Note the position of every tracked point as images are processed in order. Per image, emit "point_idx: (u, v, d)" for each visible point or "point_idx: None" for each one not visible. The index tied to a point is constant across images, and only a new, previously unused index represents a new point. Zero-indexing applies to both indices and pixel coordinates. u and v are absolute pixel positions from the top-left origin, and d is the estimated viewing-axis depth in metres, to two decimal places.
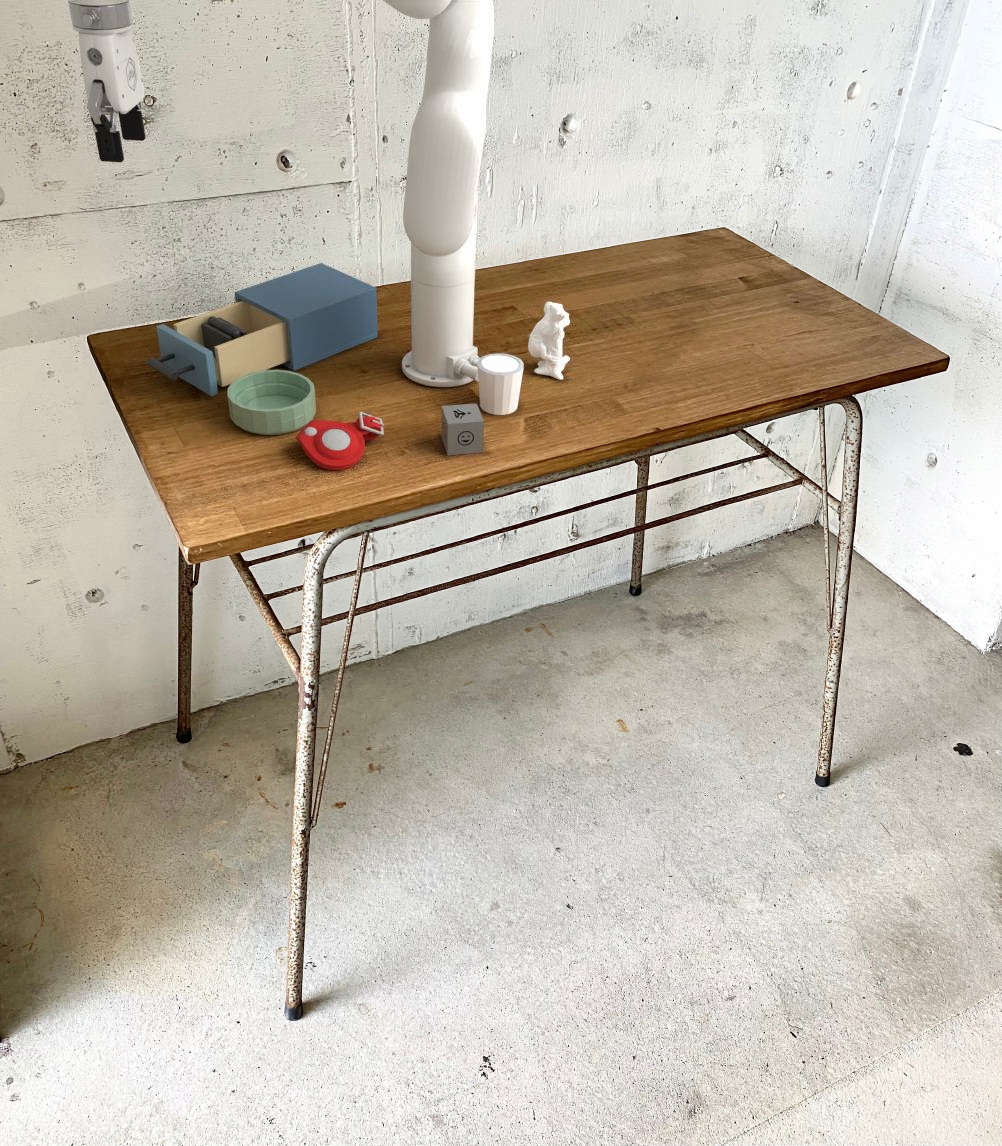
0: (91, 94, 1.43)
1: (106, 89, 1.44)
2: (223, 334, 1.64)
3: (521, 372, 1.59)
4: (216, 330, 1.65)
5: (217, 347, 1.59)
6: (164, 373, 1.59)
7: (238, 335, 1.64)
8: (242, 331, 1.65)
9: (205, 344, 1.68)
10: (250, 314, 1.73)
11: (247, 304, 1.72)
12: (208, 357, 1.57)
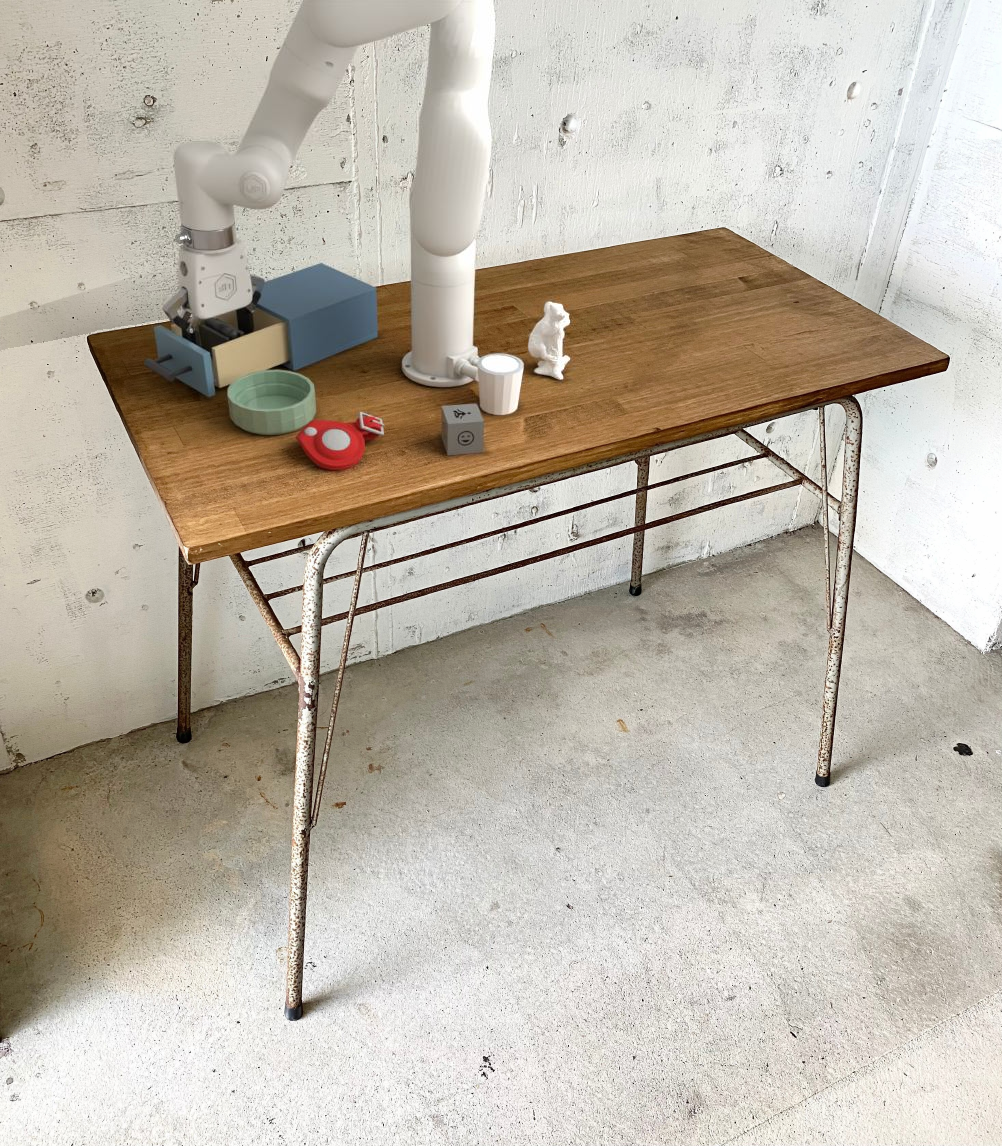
0: (172, 298, 1.58)
1: (188, 297, 1.58)
2: (220, 335, 1.64)
3: (521, 372, 1.59)
4: (213, 331, 1.64)
5: (214, 348, 1.59)
6: (161, 374, 1.58)
7: (235, 336, 1.64)
8: (239, 332, 1.65)
9: (202, 345, 1.68)
10: None
11: None
12: (205, 358, 1.57)
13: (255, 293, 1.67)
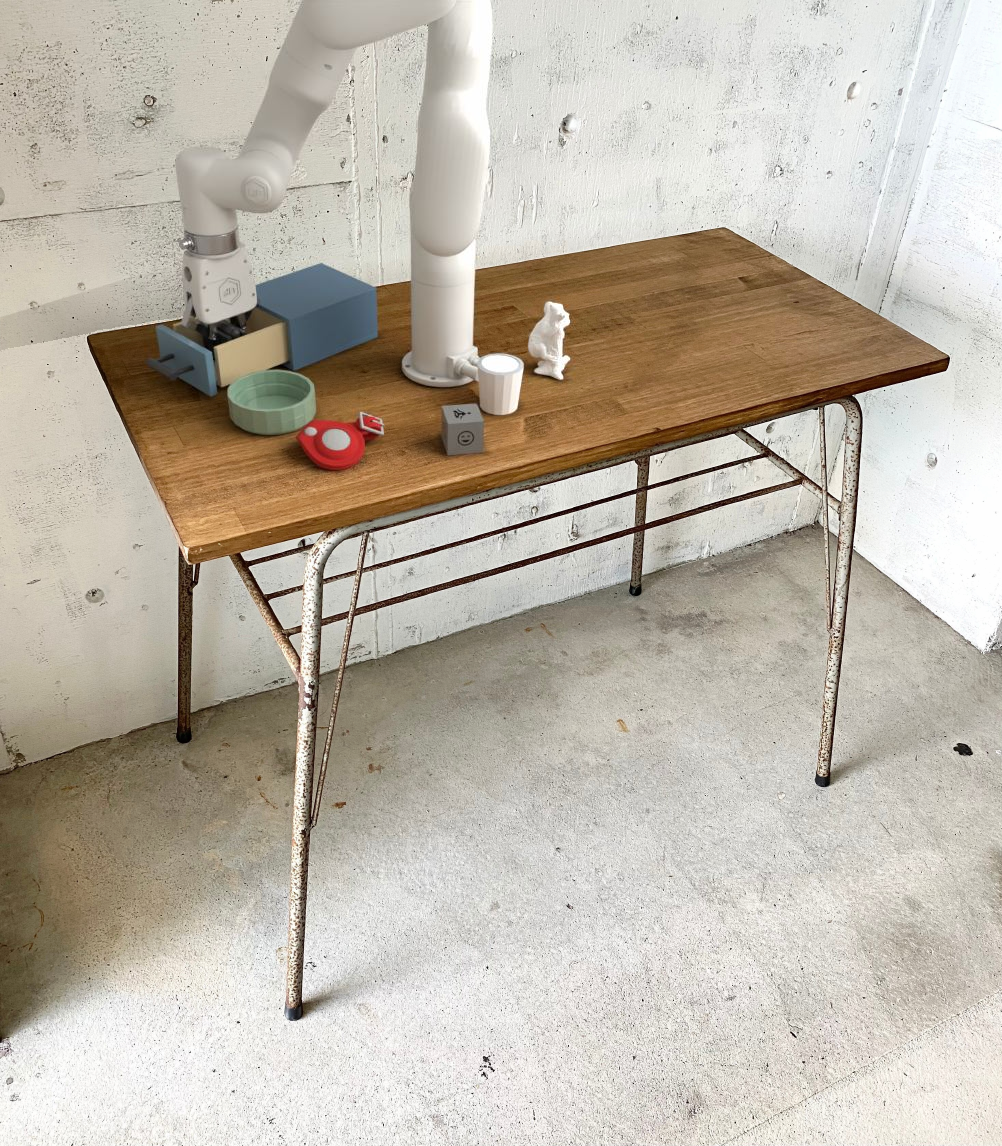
0: (185, 312, 1.60)
1: (193, 302, 1.58)
2: (223, 334, 1.64)
3: (521, 372, 1.59)
4: None
5: (216, 347, 1.59)
6: (163, 373, 1.58)
7: (238, 335, 1.64)
8: (242, 331, 1.65)
9: None
10: None
11: None
12: (207, 357, 1.57)
13: None
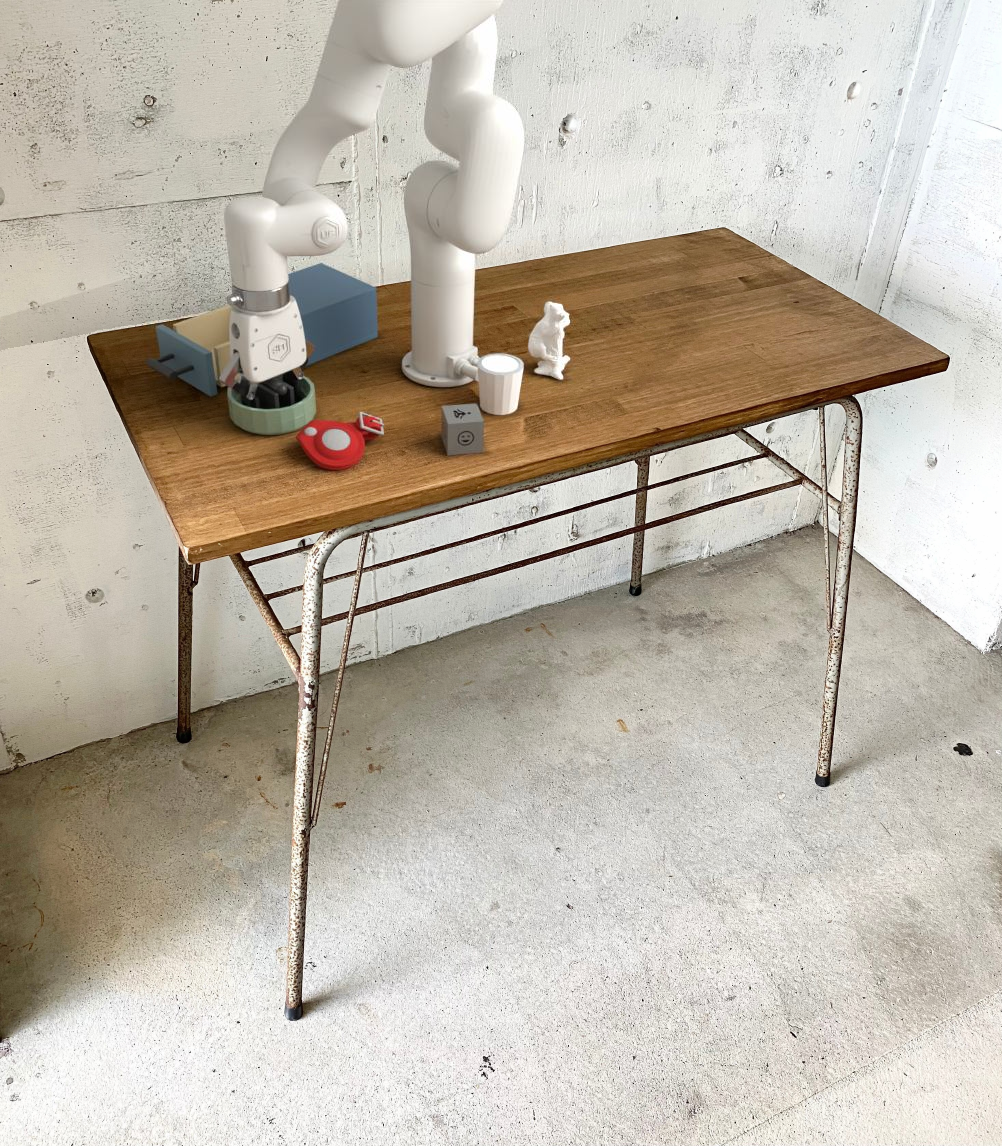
0: (226, 367, 1.49)
1: (241, 360, 1.49)
2: (269, 390, 1.54)
3: (521, 372, 1.59)
4: (261, 386, 1.55)
5: (216, 347, 1.59)
6: (163, 373, 1.58)
7: (285, 391, 1.54)
8: (289, 387, 1.55)
9: None
10: None
11: None
12: (207, 357, 1.57)
13: None
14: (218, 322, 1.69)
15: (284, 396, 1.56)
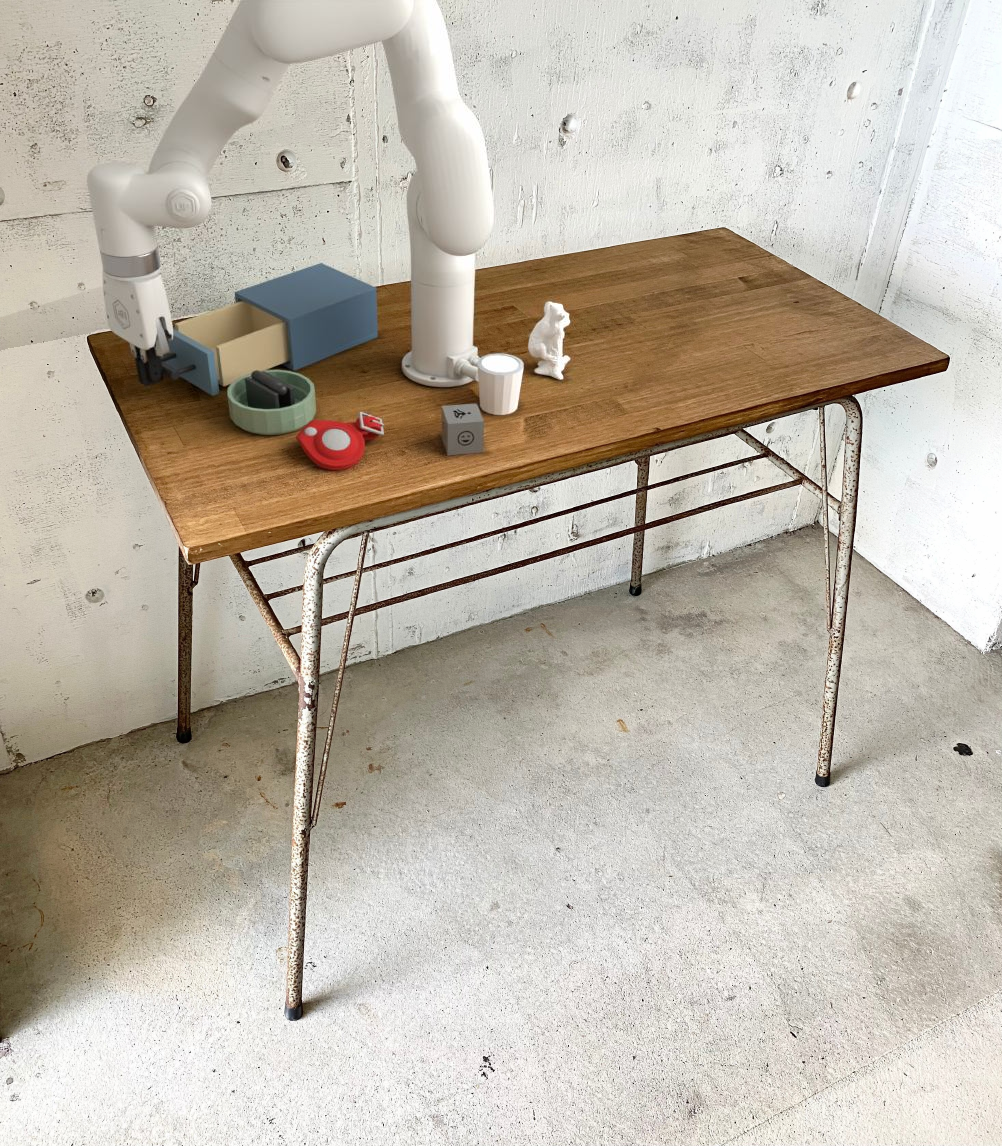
0: None
1: None
2: (269, 390, 1.54)
3: (521, 372, 1.59)
4: (261, 386, 1.55)
5: (218, 347, 1.59)
6: (165, 373, 1.59)
7: (285, 391, 1.54)
8: (289, 387, 1.55)
9: (248, 399, 1.58)
10: (251, 313, 1.73)
11: (248, 304, 1.72)
12: (209, 357, 1.57)
13: None
14: (220, 321, 1.70)
15: (284, 396, 1.56)
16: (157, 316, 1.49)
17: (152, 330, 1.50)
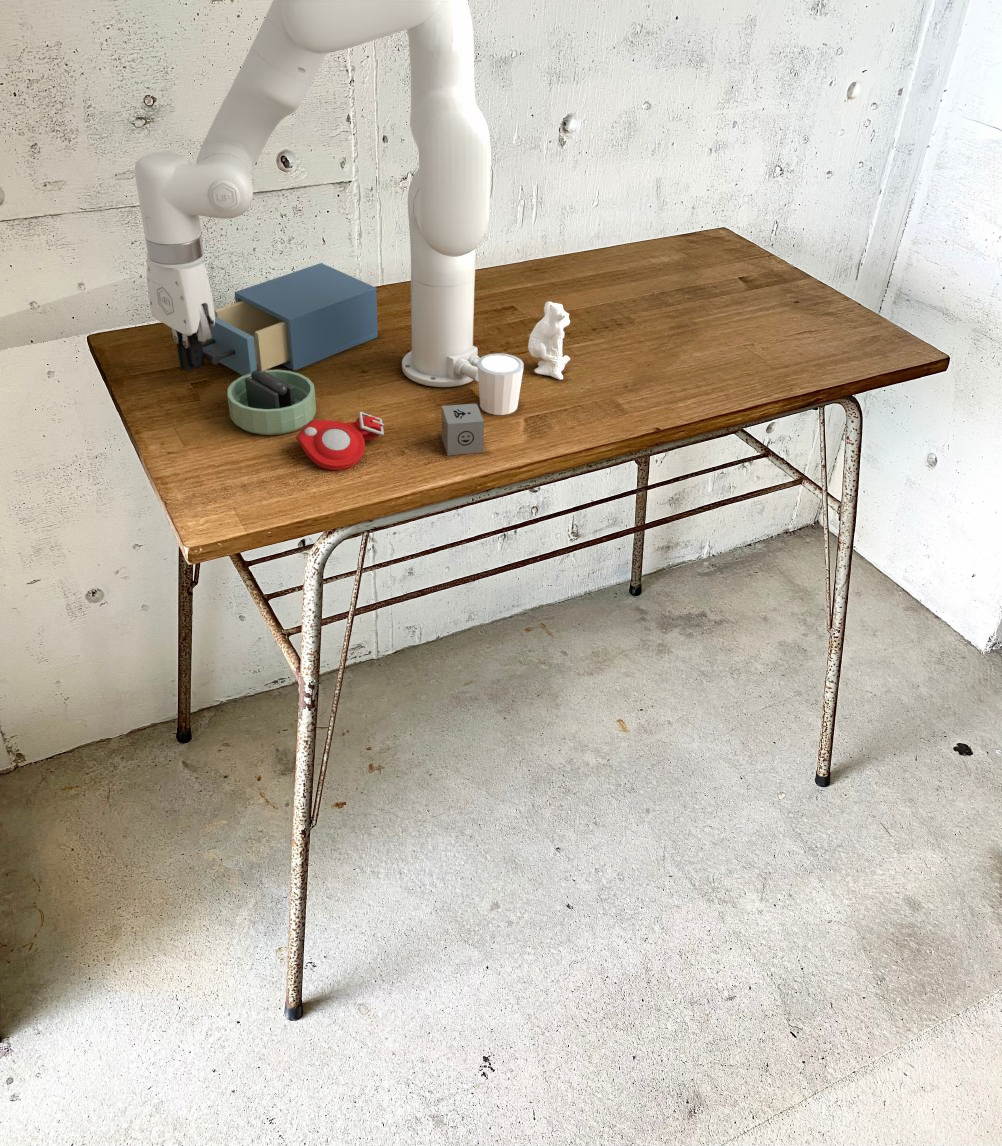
0: None
1: None
2: (269, 390, 1.54)
3: (521, 372, 1.59)
4: (261, 386, 1.55)
5: (257, 332, 1.63)
6: (206, 357, 1.63)
7: (285, 391, 1.54)
8: (289, 387, 1.55)
9: (248, 399, 1.58)
10: None
11: None
12: (249, 342, 1.62)
13: None
14: (257, 308, 1.74)
15: (284, 396, 1.56)
16: (200, 302, 1.54)
17: (195, 316, 1.54)
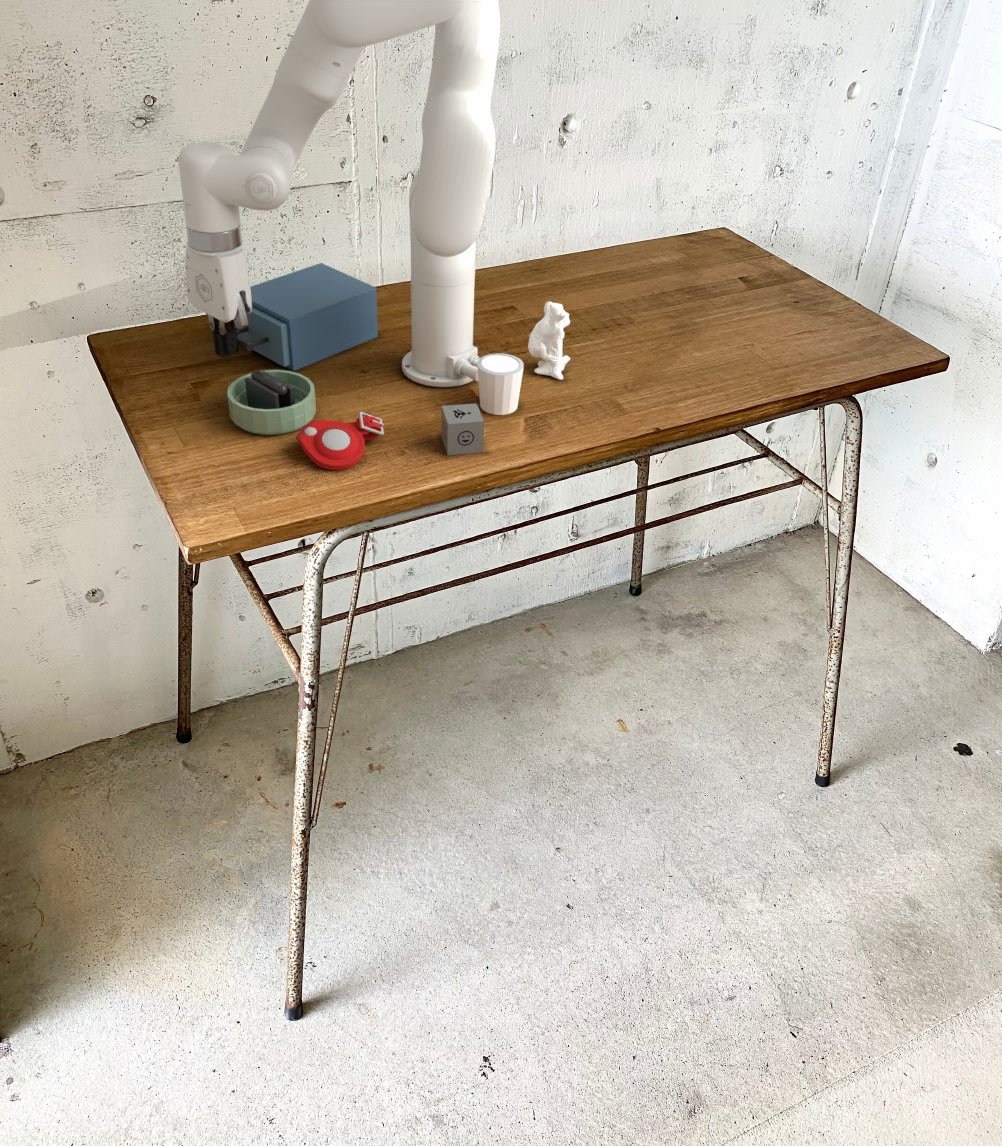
0: None
1: None
2: (269, 390, 1.54)
3: (521, 372, 1.59)
4: (261, 386, 1.55)
5: None
6: (240, 344, 1.67)
7: (285, 391, 1.54)
8: (289, 387, 1.55)
9: (248, 399, 1.58)
10: None
11: None
12: (283, 329, 1.65)
13: None
14: None
15: (284, 396, 1.56)
16: (239, 290, 1.57)
17: (234, 303, 1.58)
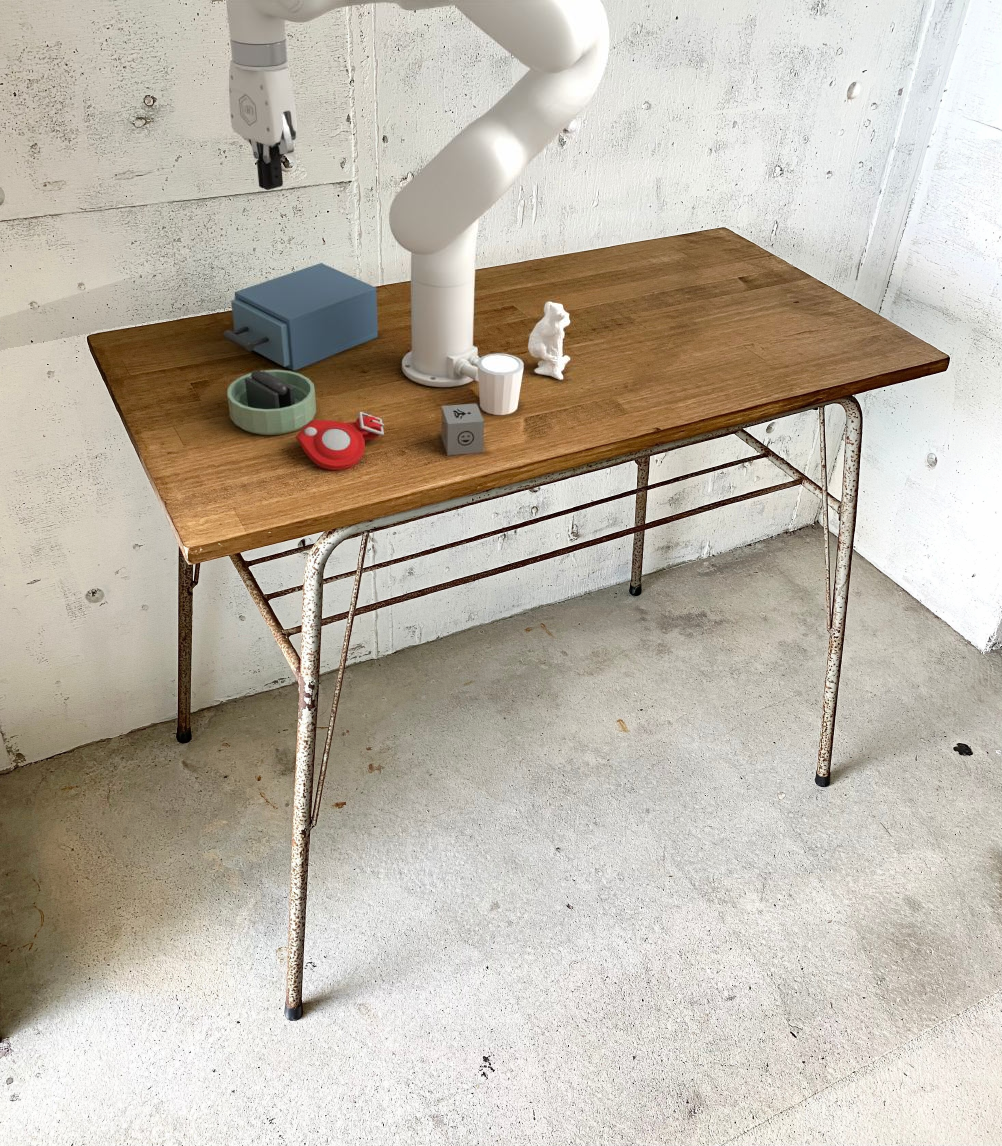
0: None
1: None
2: (269, 390, 1.54)
3: (521, 372, 1.59)
4: (261, 386, 1.55)
5: None
6: (240, 344, 1.67)
7: (285, 391, 1.54)
8: (289, 387, 1.55)
9: (248, 399, 1.58)
10: None
11: None
12: (283, 329, 1.65)
13: (273, 146, 1.57)
14: None
15: (284, 396, 1.56)
16: (284, 109, 1.52)
17: (279, 124, 1.52)
